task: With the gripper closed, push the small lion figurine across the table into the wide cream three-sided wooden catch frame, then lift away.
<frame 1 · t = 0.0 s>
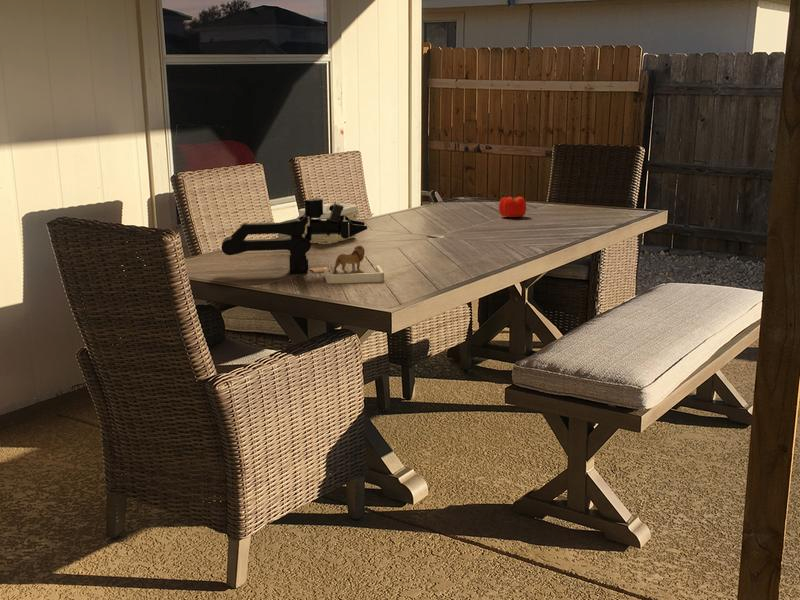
hand: (365, 225, 356), 17 cm above the table, tool horizontal, fingers open, 9 cm apart
catch frame: (353, 278, 344), on the table
terracotta tile: (319, 272, 358), on the table
lion figurine: (349, 271, 358), on the table
storage basket: (329, 240, 424), on the table
tomato: (512, 218, 486), on the table
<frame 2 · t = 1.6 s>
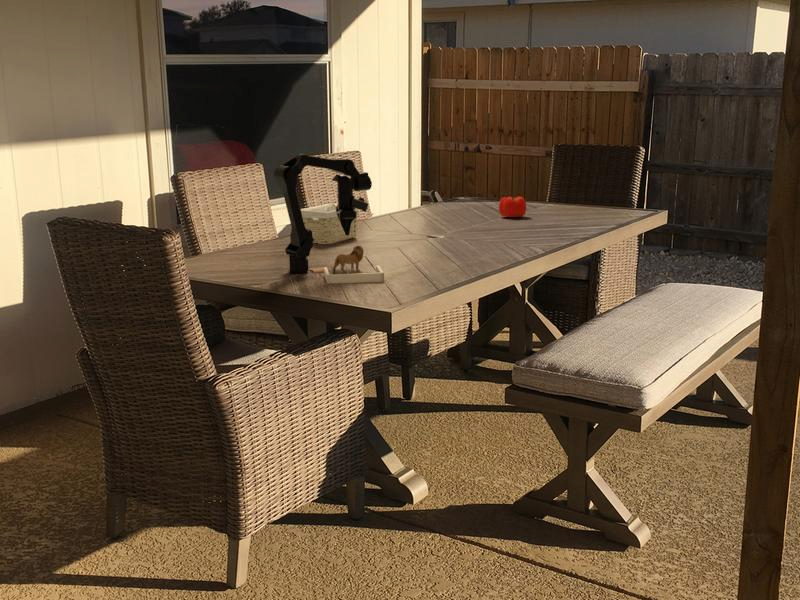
hand: (346, 233, 366), 12 cm above the table, tool pointing down, fingers open, 8 cm apart
nothing on the table moved.
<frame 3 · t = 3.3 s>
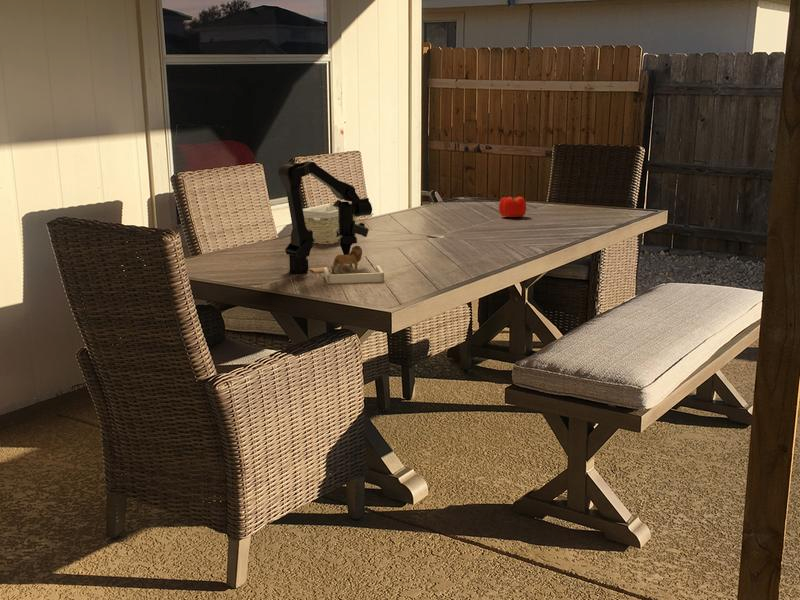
hand: (346, 258, 368), 3 cm above the table, tool pointing down, fingers closed
nothing on the table moved.
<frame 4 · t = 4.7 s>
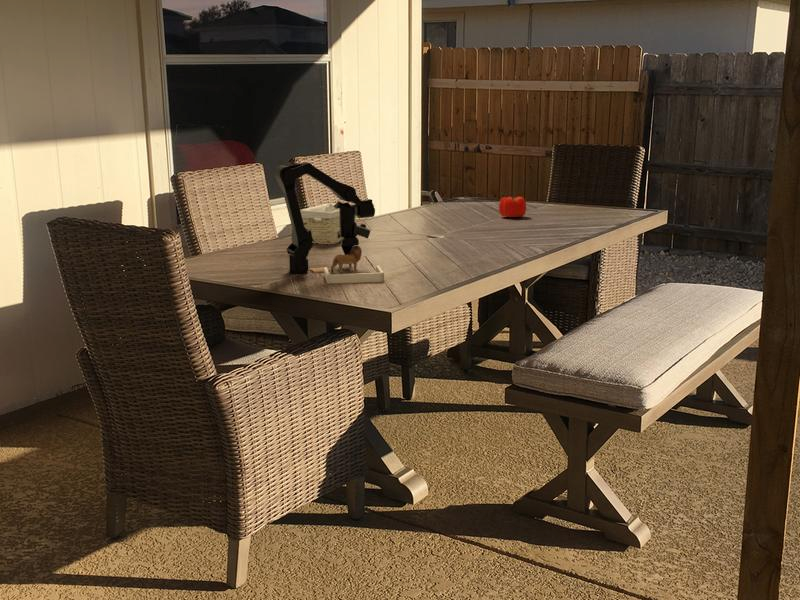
hand: (348, 260, 364), 3 cm above the table, tool pointing down, fingers closed
lion figurine: (346, 271, 357), on the table, touching gripper
everything else where it was.
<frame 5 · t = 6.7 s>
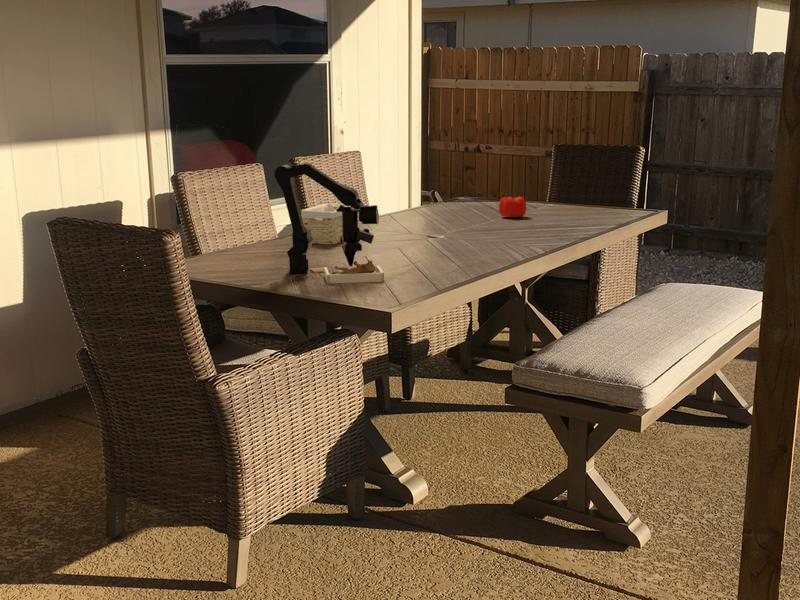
hand: (350, 266, 353), 3 cm above the table, tool pointing down, fingers closed
lion figurine: (348, 265, 351), point 3 cm above the table, touching gripper
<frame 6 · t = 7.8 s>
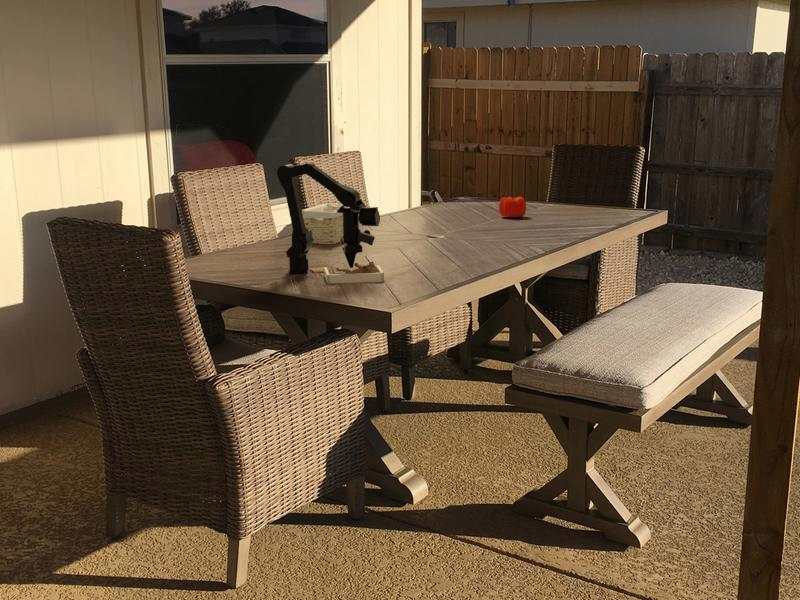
hand: (351, 267, 350), 3 cm above the table, tool pointing down, fingers closed
lion figurine: (349, 267, 349), point 3 cm above the table, touching gripper
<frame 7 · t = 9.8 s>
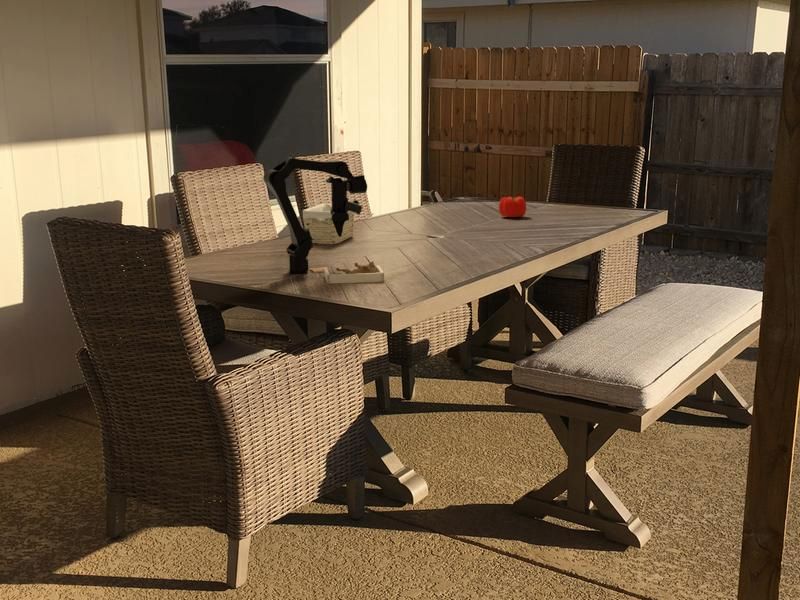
hand: (339, 236, 361), 12 cm above the table, tool pointing down, fingers closed
lion figurine: (349, 267, 349), point 3 cm above the table
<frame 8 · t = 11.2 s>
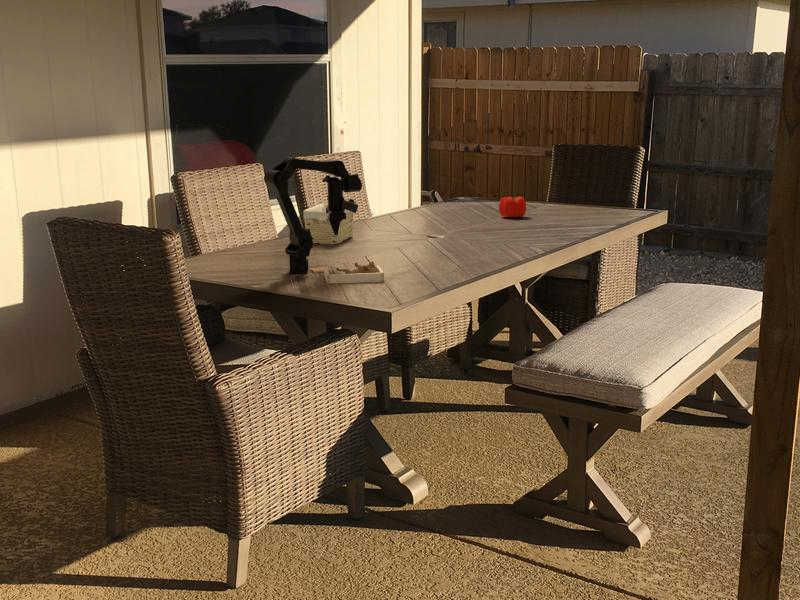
hand: (336, 235, 363), 12 cm above the table, tool pointing down, fingers closed
at the end: lion figurine inside the target area (4.9 cm from its centre), point 3.0 cm above the table; lion figurine moved 9.4 cm from its start; the gripper is holding nothing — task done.
